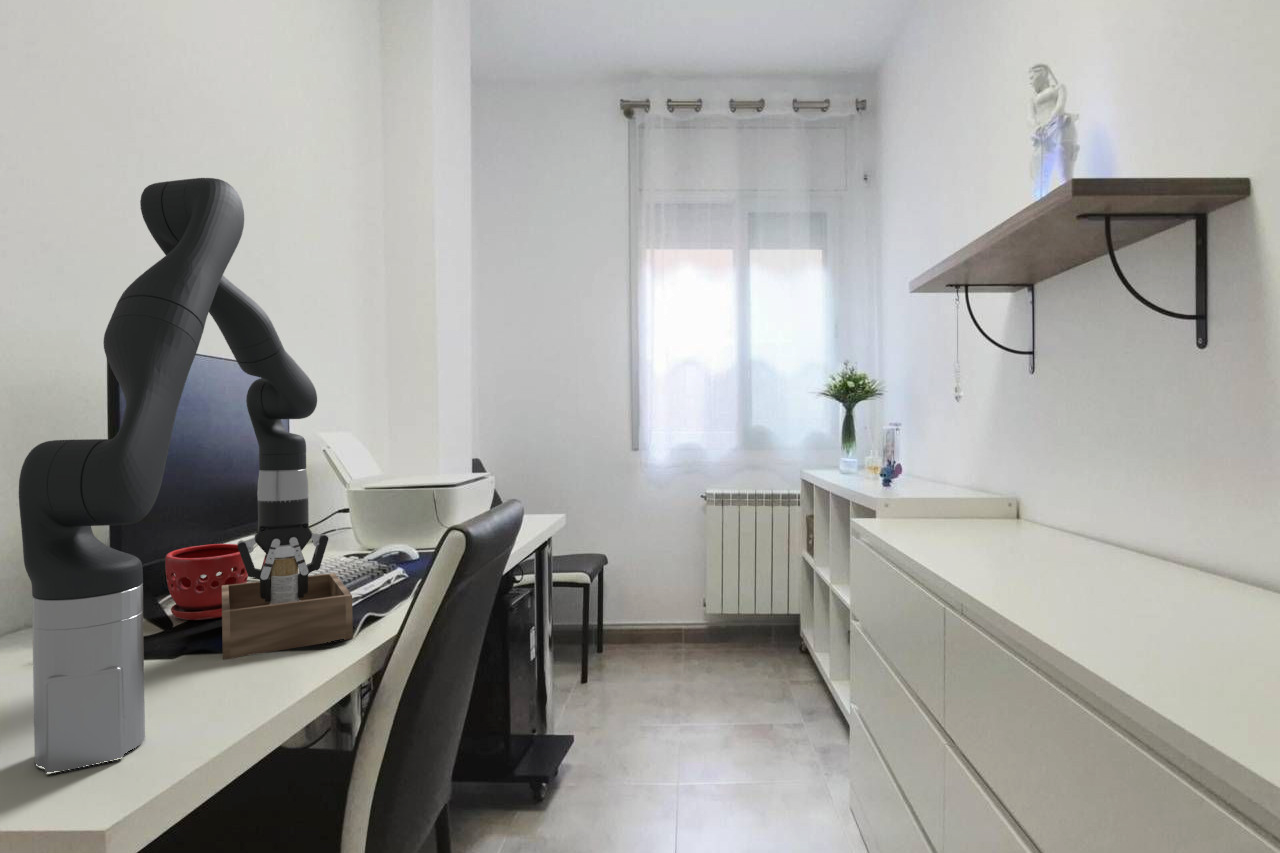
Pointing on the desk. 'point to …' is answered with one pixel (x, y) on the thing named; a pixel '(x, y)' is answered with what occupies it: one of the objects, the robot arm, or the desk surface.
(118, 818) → the desk surface
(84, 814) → the desk surface
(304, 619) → the wooden box
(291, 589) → the sprinkles bottle
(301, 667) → the desk surface
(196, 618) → the plant pot
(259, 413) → the robot arm
